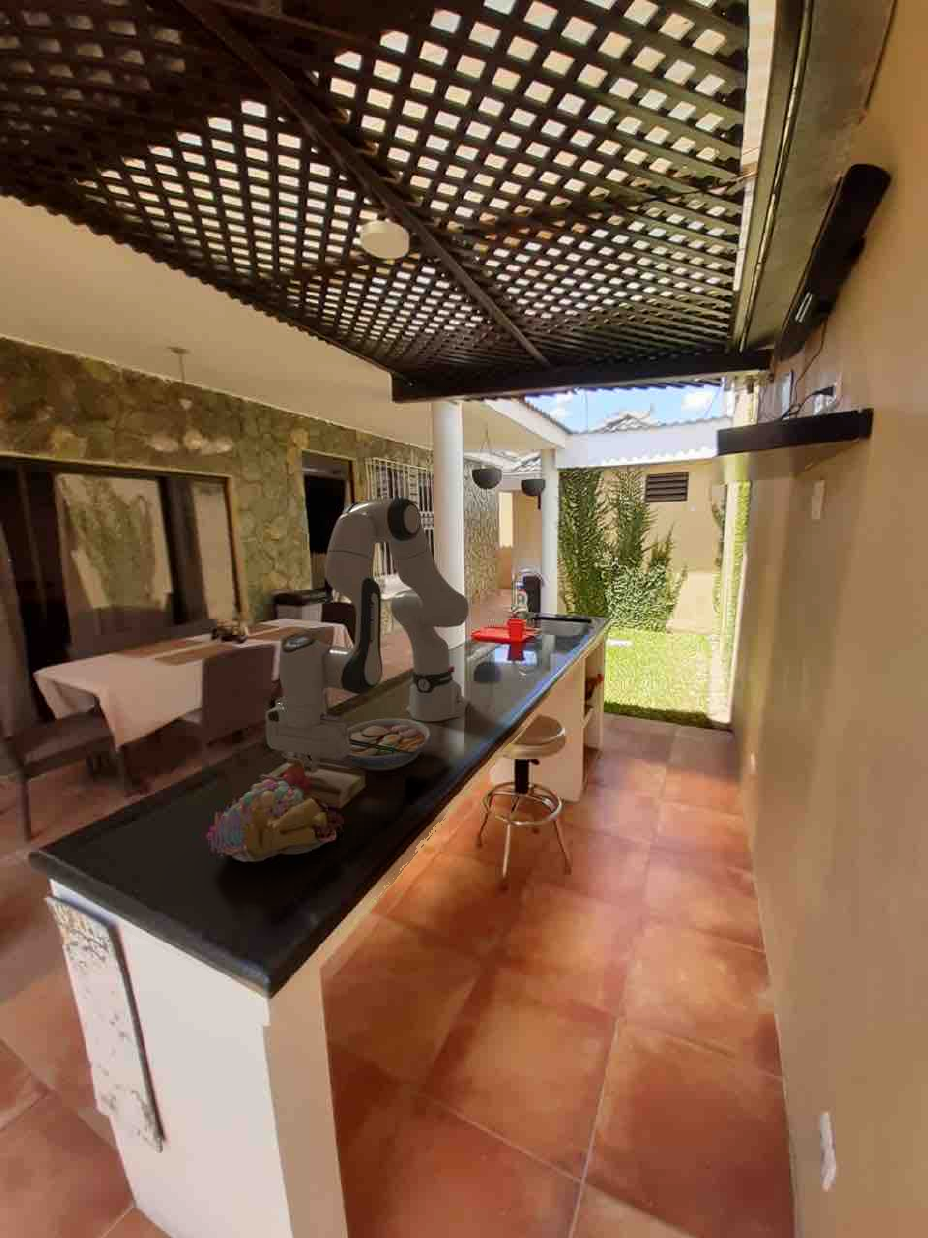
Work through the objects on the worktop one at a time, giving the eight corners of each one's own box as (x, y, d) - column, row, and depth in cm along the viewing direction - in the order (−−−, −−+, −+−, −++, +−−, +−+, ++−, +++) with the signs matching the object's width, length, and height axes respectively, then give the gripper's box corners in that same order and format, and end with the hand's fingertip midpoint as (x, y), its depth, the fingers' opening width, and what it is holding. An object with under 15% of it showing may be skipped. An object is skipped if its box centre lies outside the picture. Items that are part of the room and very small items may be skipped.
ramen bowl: (451, 752, 126) (450, 722, 124) (404, 796, 105) (402, 761, 104) (371, 738, 136) (369, 710, 135) (314, 775, 116) (311, 743, 114)
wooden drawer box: (290, 772, 118) (289, 756, 117) (365, 786, 110) (364, 769, 109) (261, 792, 109) (259, 775, 108) (340, 808, 101) (338, 791, 101)
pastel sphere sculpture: (365, 838, 91) (369, 790, 90) (233, 882, 74) (237, 823, 74) (303, 792, 108) (306, 751, 108) (185, 820, 92) (188, 772, 92)
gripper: (354, 712, 105) (358, 771, 108) (278, 702, 113) (284, 758, 115) (336, 723, 100) (341, 785, 102) (258, 712, 107) (265, 770, 109)
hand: (310, 771), depth 109 cm, fingers closed
